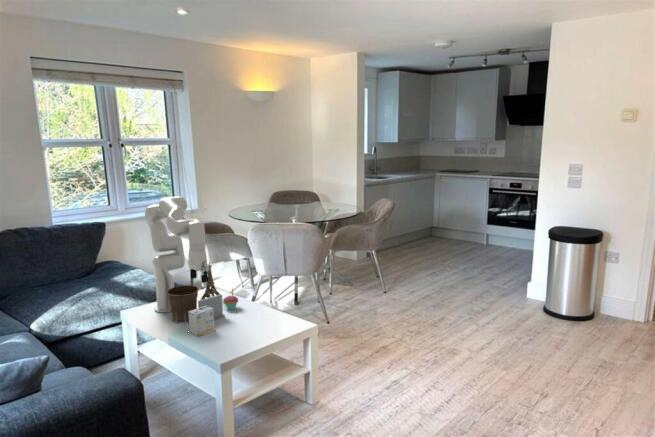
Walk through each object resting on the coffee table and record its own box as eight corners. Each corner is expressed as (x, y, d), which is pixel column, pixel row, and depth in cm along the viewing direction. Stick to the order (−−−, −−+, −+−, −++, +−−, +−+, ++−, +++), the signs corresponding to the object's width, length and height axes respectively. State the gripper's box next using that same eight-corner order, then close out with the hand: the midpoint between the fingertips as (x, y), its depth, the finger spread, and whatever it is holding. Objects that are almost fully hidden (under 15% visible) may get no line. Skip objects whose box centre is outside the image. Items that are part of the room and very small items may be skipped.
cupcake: (231, 304, 266) (230, 284, 264) (241, 307, 261) (241, 287, 259) (220, 309, 259) (219, 288, 257) (230, 312, 254) (229, 291, 252)
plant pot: (191, 325, 235) (189, 295, 233) (162, 323, 239) (160, 294, 236) (205, 314, 251) (204, 286, 249) (178, 312, 254) (177, 284, 252)
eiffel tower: (222, 296, 281) (220, 256, 277) (216, 302, 271) (214, 261, 267) (206, 295, 283) (204, 256, 278) (199, 301, 272) (197, 260, 268)
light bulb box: (206, 324, 235) (205, 304, 233) (214, 328, 231) (213, 307, 229) (188, 331, 227) (187, 310, 225) (197, 334, 223) (195, 313, 221)
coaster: (187, 331, 228) (187, 330, 228) (204, 325, 236) (204, 324, 236) (198, 336, 222) (198, 335, 222) (215, 330, 229) (215, 329, 229)
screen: (197, 321, 240) (196, 300, 238) (219, 314, 251) (218, 293, 249) (202, 324, 237) (201, 302, 235) (224, 316, 247) (223, 295, 245)
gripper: (181, 245, 225) (183, 278, 228) (200, 250, 214) (202, 285, 216) (194, 242, 230) (196, 275, 233) (214, 247, 219) (215, 282, 222)
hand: (199, 280), depth 225 cm, fingers open, 9 cm apart
